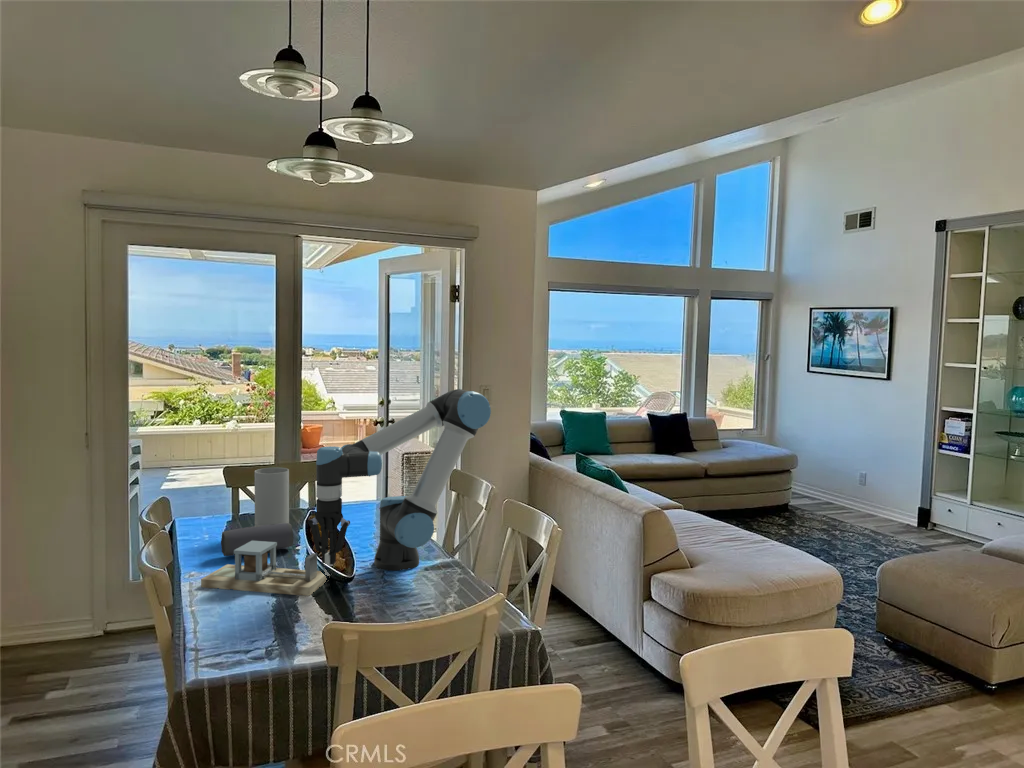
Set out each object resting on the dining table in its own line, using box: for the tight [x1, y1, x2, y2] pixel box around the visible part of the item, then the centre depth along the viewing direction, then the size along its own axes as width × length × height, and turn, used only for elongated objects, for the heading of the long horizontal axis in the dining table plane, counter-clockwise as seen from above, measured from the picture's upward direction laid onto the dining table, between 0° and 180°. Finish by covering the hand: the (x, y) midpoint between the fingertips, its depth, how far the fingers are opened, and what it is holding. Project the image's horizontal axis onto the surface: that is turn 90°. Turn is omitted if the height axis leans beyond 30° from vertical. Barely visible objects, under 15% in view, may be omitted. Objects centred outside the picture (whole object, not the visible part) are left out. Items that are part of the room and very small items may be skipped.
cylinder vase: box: [254, 467, 290, 526], centre depth 260 cm, size 12×12×25 cm
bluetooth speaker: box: [220, 522, 295, 558], centre depth 237 cm, size 23×9×10 cm, turn 123°
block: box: [243, 552, 269, 573], centre depth 209 cm, size 5×5×6 cm
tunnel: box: [234, 541, 277, 581], centre depth 209 cm, size 9×10×9 cm
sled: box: [241, 552, 318, 581], centre depth 208 cm, size 24×6×7 cm, turn 81°
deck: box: [200, 563, 327, 597], centre depth 209 cm, size 35×14×3 cm, turn 81°
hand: (328, 573), depth 206 cm, fingers closed
